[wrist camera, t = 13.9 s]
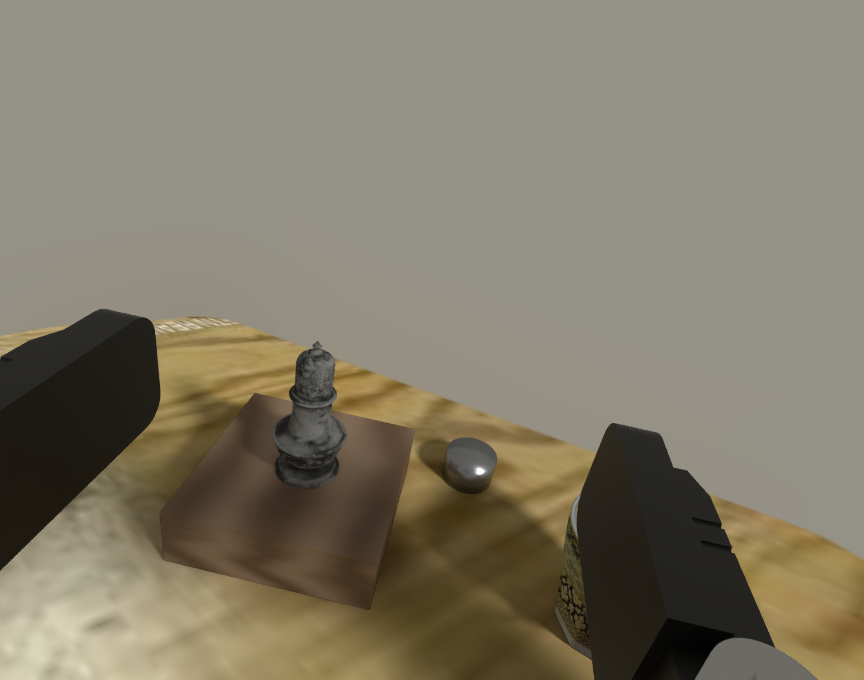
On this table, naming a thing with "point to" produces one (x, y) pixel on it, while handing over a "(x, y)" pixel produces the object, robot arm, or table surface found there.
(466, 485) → the grey metal puck
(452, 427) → the table surface
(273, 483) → the walnut stand
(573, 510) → the ceramic cup
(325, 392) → the salt shaker
